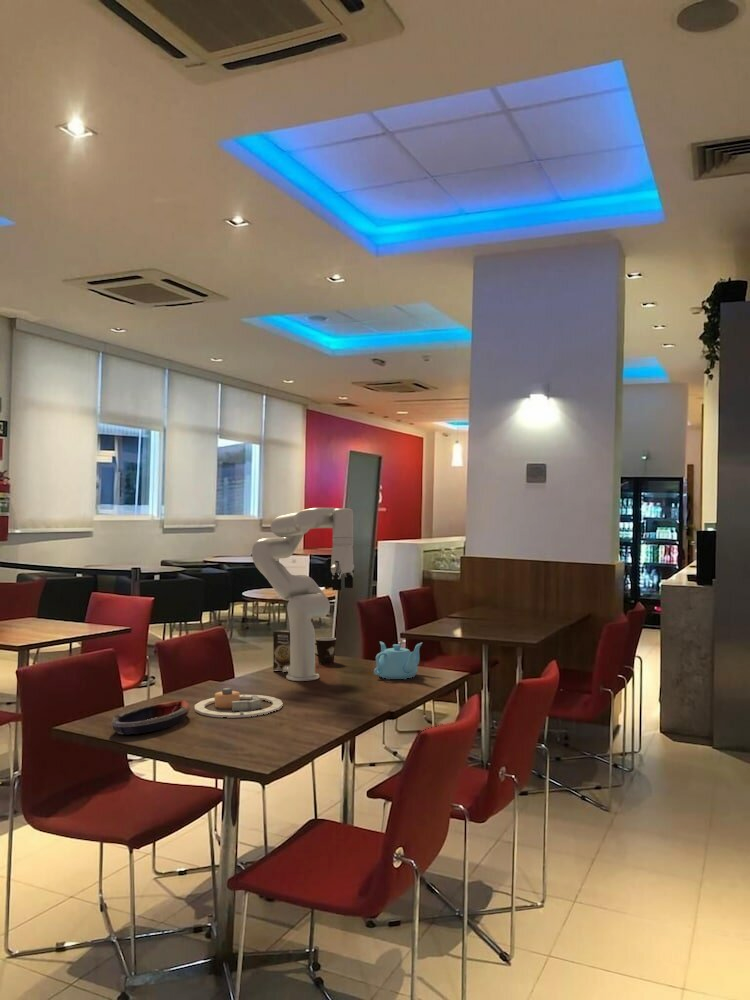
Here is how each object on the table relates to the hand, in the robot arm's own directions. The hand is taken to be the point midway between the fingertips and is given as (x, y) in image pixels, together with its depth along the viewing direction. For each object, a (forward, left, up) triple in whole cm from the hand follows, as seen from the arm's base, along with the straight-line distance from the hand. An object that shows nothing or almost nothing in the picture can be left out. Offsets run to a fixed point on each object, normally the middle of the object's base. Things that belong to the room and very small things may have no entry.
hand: (343, 589), depth 298 cm
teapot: (+9, +26, -36) cm, 45 cm away
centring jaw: (-7, -44, -35) cm, 57 cm away
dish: (-18, -74, -36) cm, 84 cm away
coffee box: (-35, +12, -36) cm, 51 cm away
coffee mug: (-33, +34, -36) cm, 59 cm away
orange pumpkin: (-16, -44, -35) cm, 59 cm away
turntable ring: (-11, -44, -35) cm, 58 cm away
